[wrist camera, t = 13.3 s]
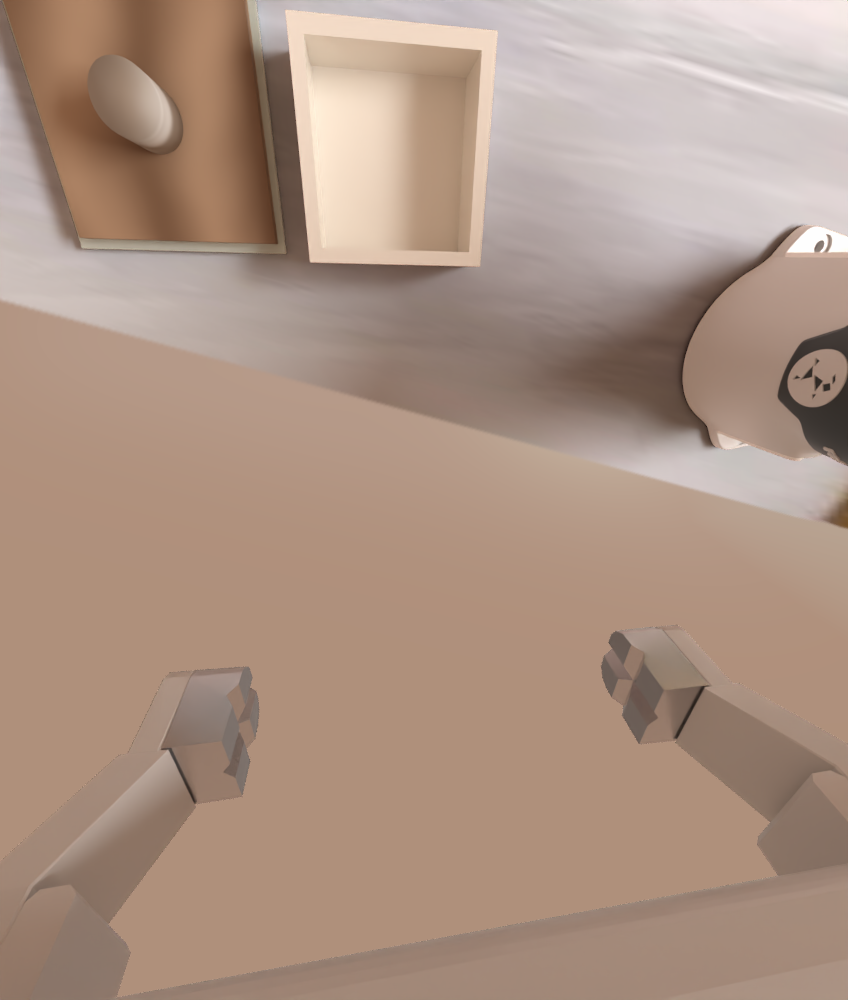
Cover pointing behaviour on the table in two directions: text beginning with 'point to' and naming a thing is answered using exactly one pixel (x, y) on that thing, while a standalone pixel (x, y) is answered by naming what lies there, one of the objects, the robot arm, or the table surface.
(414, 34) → the dish
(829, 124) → the table surface
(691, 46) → the table surface
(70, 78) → the lid
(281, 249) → the mat
